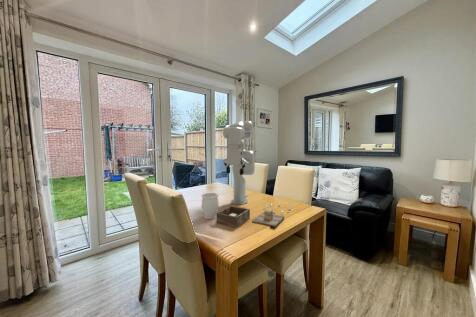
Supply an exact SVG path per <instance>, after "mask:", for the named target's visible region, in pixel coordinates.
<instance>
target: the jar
mask: <svg viewBox="0 0 476 317" xmlns="http://www.w3.org/2000/svg"><path fill="white" fill-rule="evenodd" d="M218 197H219V194H218V193H213V192H208V193H203V194H201V210H202V213H203V214H202V215H203V217H204V218H205V219H210V220H211V219H215V218H216V213H218V212H219V198H218Z"/></svg>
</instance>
